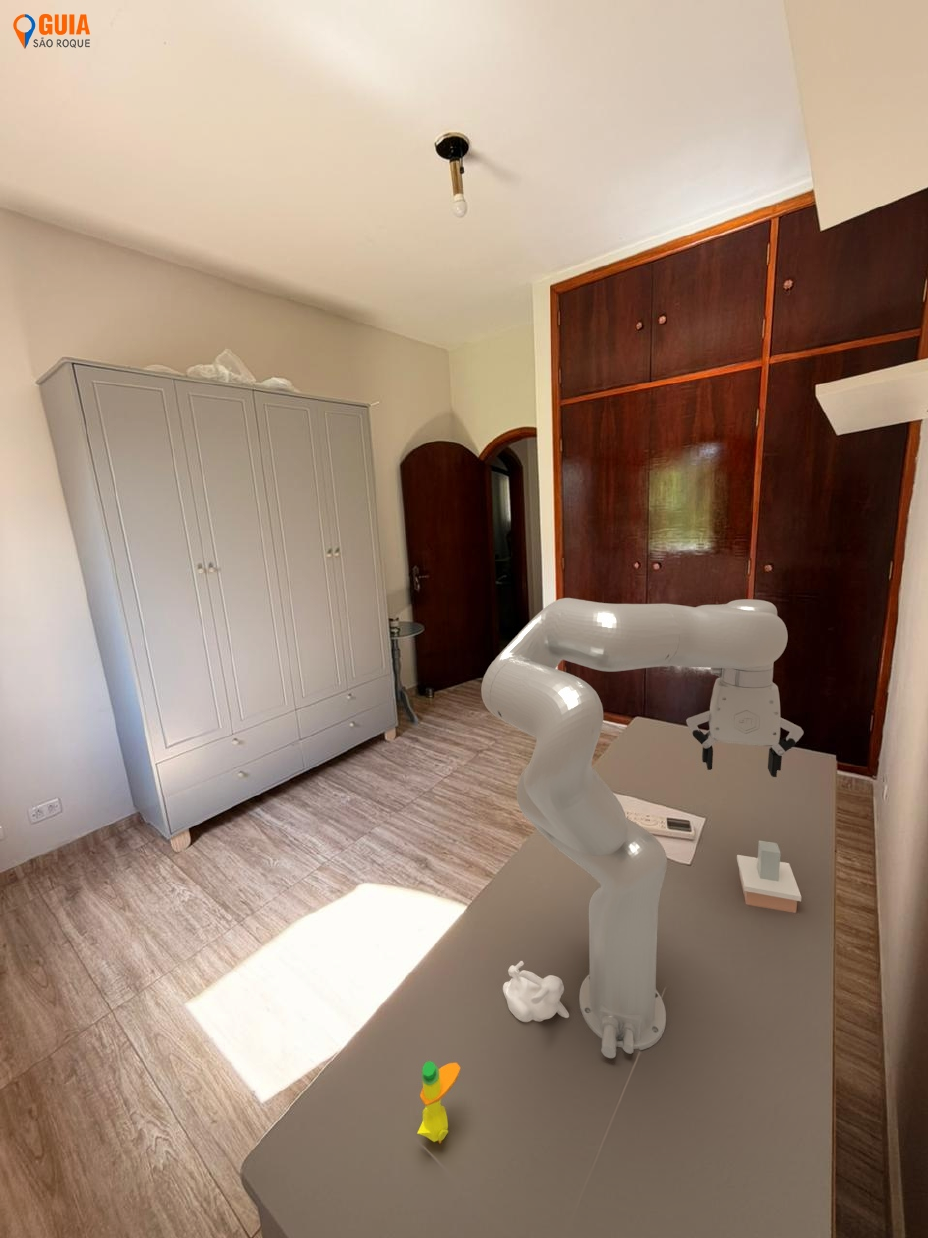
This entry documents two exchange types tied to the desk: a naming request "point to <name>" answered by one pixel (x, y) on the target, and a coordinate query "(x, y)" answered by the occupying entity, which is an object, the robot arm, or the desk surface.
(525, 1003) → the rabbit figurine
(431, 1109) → the toy figure
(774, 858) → the lid
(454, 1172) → the desk surface
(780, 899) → the square frame
